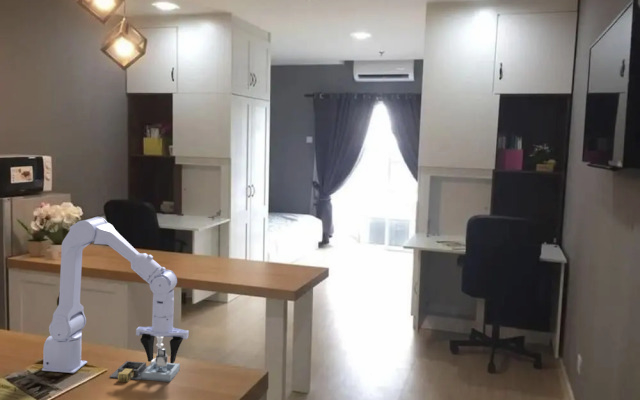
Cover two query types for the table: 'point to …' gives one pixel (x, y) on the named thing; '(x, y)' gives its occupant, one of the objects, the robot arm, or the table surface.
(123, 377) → the tan stepped block
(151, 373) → the tray
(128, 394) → the table surface
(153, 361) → the chess piece
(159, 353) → the stepped metal cylinder
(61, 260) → the robot arm
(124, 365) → the socket
